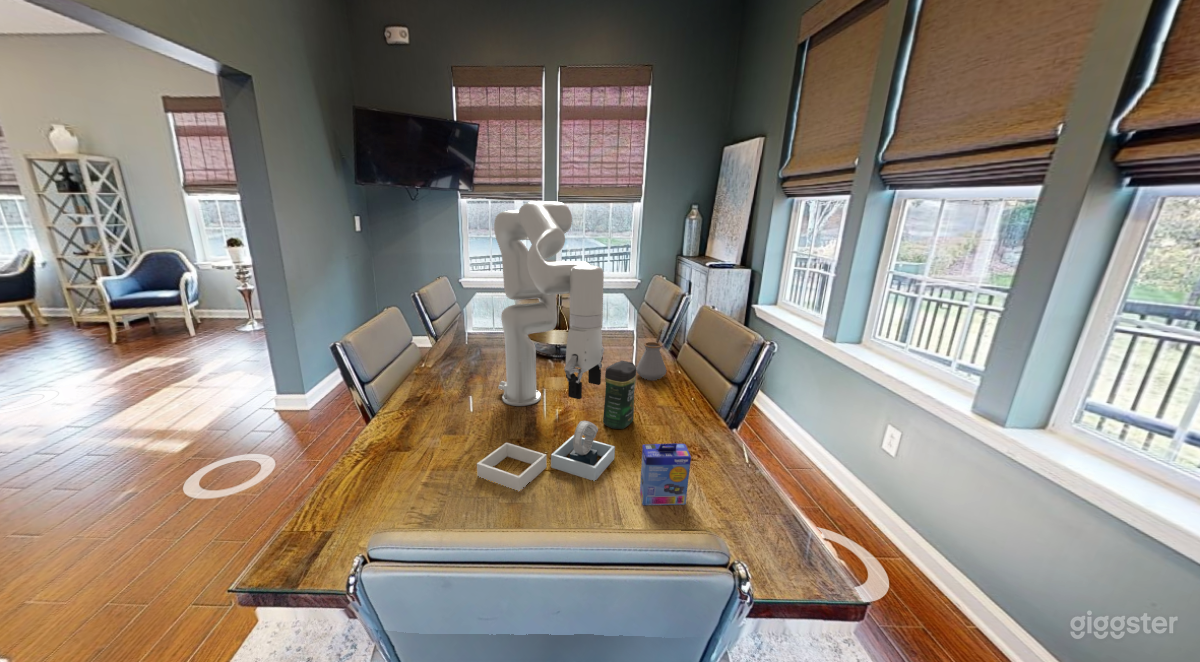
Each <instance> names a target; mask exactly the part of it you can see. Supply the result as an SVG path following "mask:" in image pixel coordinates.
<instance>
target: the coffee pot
mask: <svg viewBox="0 0 1200 662" xmlns="http://www.w3.org/2000/svg"><path fill="white" fill-rule="evenodd" d="M664 332H665V330H664V329H659V330H658V334H657V336H656V339H655V341H647V342H645V343H644V344H643V345H644V348H645V350H644V352H643V354H642V356H641V358H640V359H639V361H638V363H637V364H636V365H637V366H636V374H638V376H640V378H641V377H642V378H641V379H643V378H644V379H643V380H646V379H647V380H646V381H658V380H657V379H659V380H660V379H662V378H663V377H664V376H666V374H667V368H666V364H665V362H664V360H663V357H662V354H661V351H660V349H662V348H663V345H662V344H661V343H659V342H660V340H661V336H662V334H664Z"/></svg>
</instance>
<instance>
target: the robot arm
mask: <svg viewBox="0 0 1200 662" xmlns="http://www.w3.org/2000/svg"><path fill="white" fill-rule="evenodd" d="M493 223H494V224H493V230H494V235H495V239H496V243H497V245H498V248H499V250H500V254H501V262H502V275H503V276H502V277H503V287H504V288H503V289H504V293H505V296H506V297H507V299H509V300H513V301H520V300H521V301H523V300H536V299H538V301H539V302H531V303H529V302H528V303H516V304H512V305H509V306H507V307H505V308H504V309H503V310H502V312H501V317H500V319H501V320H500V321H501V325H502V330H503V335H504V345H505V346H504V347H505V348H504V349H505V372H506V373H505V374H506V381H504V380H501V381H500V382H499V385H498V387H497V388H498V389H499V390H503V394H502V395H501V397H502V402H503V403H504V404H506V405H509V406H513V407H514V406H516V407H524V406H527V407H528V406H531V405H534V404H536V403H538V402H540V400H541V399H542V393H541V392H540V391H539V390H537V360H536V359H537V353H536V351H537V349H536V346H535V343H534V342H533V340H531V338H530V337H529V335H530V334H531V335H532V334H536V333H537V334H538V333H544V332H550V331H553V330H555V328H556V326H557V322H558V311H557V307H558V306H557V295H564V294H569V328H568V331H567V332H568V333H567V340H566V351H565V366H564V374H565V378H566V381H567V382H568V383H567V384H568V386H567V387H568V389H567V390H568V391H567V393H568V397H569V398H571V399H576V400H581V399H582V398H583V382H581V380H582V378H583V374H585V373H587V372H588V375H587V376H588V380H587V381H588V383H589V384H592V385H597V386H600V385H601V384H602V369H603V368H602V367H603V364H602V362H603V359H604V357H603V355H604V351H605V348H604V347H603V332H602V330H603V329H602V328H603V315H604V313H603V312H604V277H605V275H604V271H603V269H602V268H601V267H600V266H597V265H593V264H591V263H589V262H588V261H585V260H573V261H572V260H571V261H570V260H569V261H567V260H566V261H564V260H563V261H546V260H548V259H550V258H552V257H554V256H556V255H557V254H558V253H559V252H561V250H562V249H563V248H564V246H565V243H566V237H565V234H567V233H568V232H569V230H570V229H571V228H572V225H573V224H572V223H573V216H572V212H571V209H570V208H569V206H567V205H566V204H565V203H563V202H560V201H542V200H541V201H540V200H539V201H538V200H537V201H536V200H535V201H528V202H525V203H524V204H522V205H521V207H520V208H519V209H514V210H513V209H512V210H504V211H501V212H498V213H497V215H496V216H495V219H494V222H493ZM522 241H529V242H530V243H531V245H530V247H529V249H528V248H527V247H526V245H525V244H524V243H523V242H522ZM575 373H577V375H576V374H575Z"/></svg>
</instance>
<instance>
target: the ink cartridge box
mask: <svg viewBox="0 0 1200 662" xmlns="http://www.w3.org/2000/svg"><path fill="white" fill-rule="evenodd" d="M641 449H642V450H641V467H640V468H641V470H640V481H639V483H640V484H639V485H640V486H639V493H640V494H639V495H640V499H641V504H642V506H681V505H682V506H684V505H686V504H687V495H688V489H689V488H688V485H689V478H690V477H689V476H690V468H691V463H692V462H691V461H692V456H691V454H690V452H689V450H688V446H687V444H685V443H649V444H642V448H641Z"/></svg>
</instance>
